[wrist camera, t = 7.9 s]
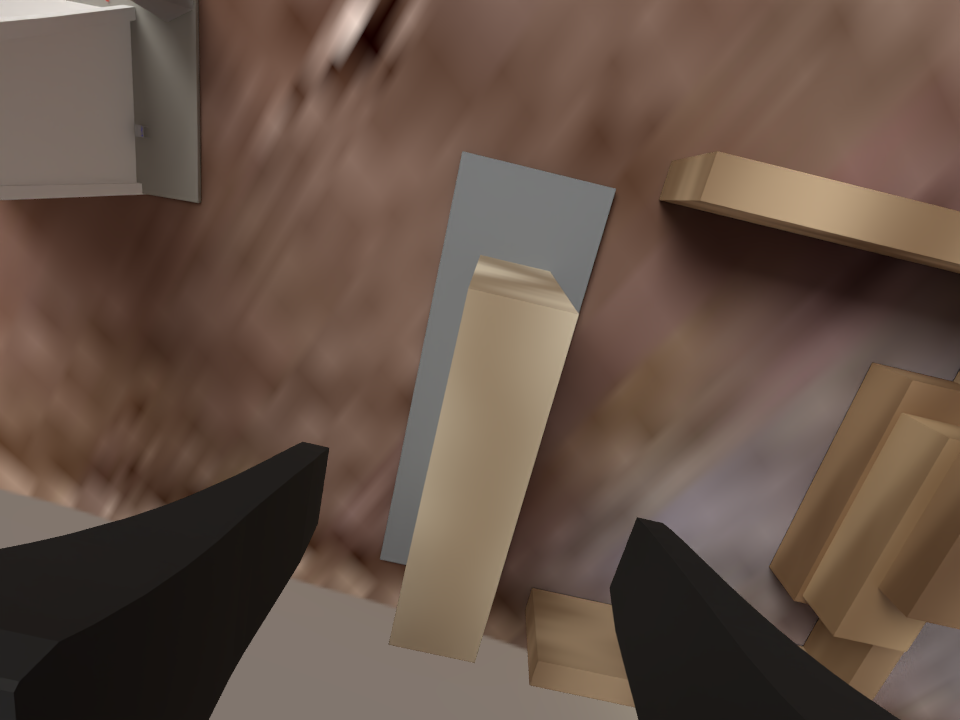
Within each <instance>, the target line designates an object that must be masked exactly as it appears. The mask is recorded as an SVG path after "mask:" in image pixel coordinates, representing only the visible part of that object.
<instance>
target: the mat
mask: <svg viewBox="0 0 960 720" xmlns="http://www.w3.org/2000/svg"><path fill="white" fill-rule="evenodd" d="M615 191H616V189H614V188H610V187H606V186H602V185H598V184H594V183H590V182H586V181H582V180H578V179H574V178H569V177H565V176H561V175H557V174H553V173H549V172H545V171H541V170H537V169H533V168H529V167H525V166H520V165H516V164H512V163H508V162H504V161H500V160H496V159H492V158H488V157H484V156H480V155H476V154H471V153H467V152H463V151H462V156H461V161H460V166H459V171H458V176H457V181H456V186H455V191H454V196H453V201H452V206H451V211H450V216H449V221H448V226H447V230H446V235H445V240H444V245H443V250H442V255H441V260H440V265H439V270H438V275H437V280H436V285H435V290H434V295H433V300H432V305H431V310H430V314H429V319H428V324H427V329H426V334H425V339H424V344H423V349H422V354H421V359H420V364H419V369H418V374H417V379H416V384H415V389H414V393H413V398H412V403H411V408H410V413H409V418H408V423H407V428H406V433H405V438H404V443H403V448H402V453H401V458H400V463H399V468H398V473H397V477H396V482H395V487H394V492H393V497H392V502H391V507H390V512H389V517H388V522H387V527H386V532H385V537H384V542H383V547H382V552H381V557H380V559H381V560H386V561H390V562H395V563H400V564H404V565H407V560H408V556H409V551H410V547H411V542H412V538H413V533H414V529H415V525H416V520H417V516H418V511H419V507H420V502H421V498H422V493H423V489H424V484H425V480H426V475H427V471H428V466H429V462H430V457H431V453H432V449H433V444H434V440H435V435H436V431H437V426H438V422H439V417H440V413H441V408H442V404H443V399H444V395H445V390H446V386H447V382H448V377H449V373H450V368H451V364H452V359H453V355H454V350H455V346H456V341H457V337H458V332H459V328H460V323H461V319H462V315H463V310H464V306H465V301H466V297H467V292H468V288H469V285H470V282H471V280H472V277H473V274H474V271H475V268H476V266H477V263H478V260H479V257H480V255H483V256H487V257H491V258H496V259H500V260H504V261H508V262H512V263H517V264H521V265H525V266H529V267H533V268H538V269H542V270H546V271H550V272H551V274H552V275H553V277H554V278H555V280H556V281H557V283H558V284H559V285H560V287H561V288H562V290H563V291H564V293H565V294H566V296H567V297H568V299H569V300H570V302H571V303H572V305H573V306H574V308H575V309H576V311H577V312H578V314H579V311H580V308H581V304H582V301H583V298H584V294H585V291H586V288H587V284H588V281H589V278H590V274H591V271H592V268H593V264H594V261H595V257H596V254H597V251H598V247H599V244H600V241H601V237H602V234H603V231H604V227H605V224H606V221H607V217H608V214H609V211H610V207H611V204H612V201H613V197H614V194H615Z"/></svg>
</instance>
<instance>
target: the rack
mask: <svg viewBox="0 0 960 720" xmlns="http://www.w3.org/2000/svg"><path fill="white" fill-rule="evenodd" d="M659 200H661V201H665V202H669V203H673V204H678V205H682V206H686V207H690V208H694V209H698V210H702V211H706V212H710V213H714V214H718V215H722V216H727V217H731V218H735V219H739V220H743V221H747V222H751V223H755V224H759V225H763V226H767V227H772V228H776V229H780V230H784V231H788V232H792V233H796V234H800V235H804V236H808V237H812V238H816V239H821V240H825V241H829V242H833V243H837V244H841V245H845V246H849V247H853V248H857V249H861V250H865V251H870V252H874V253H878V254H882V255H886V256H890V257H894V258H898V259H902V260H906V261H910V262H915V263H919V264H923V265H927V266H931V267H935V268H939V269H943V270H947V271H951V272H955V273H959V274H960V212H959V211H955V210H951V209H947V208H943V207H939V206H935V205H931V204H927V203H923V202H919V201H915V200H911V199H907V198H903V197H899V196H895V195H891V194H887V193H883V192H879V191H875V190H871V189H867V188H863V187H859V186H855V185H851V184H847V183H843V182H839V181H835V180H831V179H827V178H823V177H819V176H815V175H811V174H807V173H803V172H799V171H795V170H791V169H787V168H783V167H779V166H775V165H771V164H767V163H763V162H759V161H755V160H751V159H747V158H743V157H739V156H734V155H730V154H726V153H722V152H718V151H716V152H712V153H707V154H702V155H698V156H693V157H689V158H684V159H679V160H675V161H672V162H671V165H670V168H669V171H668V174H667V177H666V180H665V183H664V186H663V190H662V193H661V196H660V199H659ZM953 382H955V383H958V384H960V371H959V372H958V374H957V376H956V378H955V379H954V381H953ZM525 616H526V633H527V650H528V666H529V684H530V685H531V686H536V687H541V688H545V689H550V690H555V691H560V692H564V693H569V694H574V695H579V696H584V697H588V698H593V699H598V700H602V701H607V702H612V703H617V704H621V705H626V706H631V707H635V705H634V701H633V697H632V694H631V690H630V686H629V682H628V679H627V675H626V671H625V667H624V663H623V660H622V656H621V652H620V648H619V644H618V640H617V636H616V632H615V625H614V618H613V611H612V605H609V604H605V603H600V602H595V601H591V600H586V599H581V598H577V597H572V596H568V595H563V594H558V593H554V592H549V591H545V590H540V589H535V588H532V590H531V593H530V596H529V599H528V602H527V606H526V609H525ZM799 647H800V648H802V649H803V650H804V651H805V652H807V653H808V654H809V655H810V656H812V657H813V658H814V659H816V660H817V661H818V662H819V663H821V664H822V665H823V666H825V667H826V668H827V669H828V670H830V671H831V672H832V673H834V674H835V675H836V676H838V677H839V678H841V679H842V680H843V681H845V682H846V683H847V684H849V685H850V686H852V687H853V688H854V689H856V690H857V691H859V692H860V693H862V694H863V695H864V696H866V697H867V698H869V699H870V700H873V699H874V697H875V696H876V694H877V693H878V691H879V690H880V688H881V686H882V685H883V683H884V682H885V680H886V679H887V677H888V676H889V674H890V673H891V671H892V670H893V668H894V667H895V665H896V663H897V662H898V660H899V659H900V657H901V656H902V654H903V653H904V651H899V650H895V649H890V648H885V647H881V646H876V645H872V644H867V643H862V642H858V641H853V640H849V639H844V638H839V637H835V636H833V635H832V634H831V633H830V631H829V630H828V629H827V627H826V626H825V625H824V623H823V622H822V621H821V619H820V618H819V619H818V621H817V623H816V625H815V626H814V628H813V630H812V632H811V634H810V635H809V637H808V639H807V641H806V642H805V644H804V646H799Z"/></svg>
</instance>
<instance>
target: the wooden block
mask: <svg viewBox="0 0 960 720" xmlns="http://www.w3.org/2000/svg"><path fill="white" fill-rule="evenodd" d="M578 316H579V314H578V312H577V311H576V309H575V308H574V306H573V305H572V303H571V302H570V300H569V299H568V297H567V296H566V294H565V293H564V291H563V290H562V288H561V287H560V285H559V284H558V283H557V281H556V280H555V278H554V277H553V275H552V274H551V272H550V271H546V270H542V269H538V268H533V267H529V266H525V265H521V264H517V263H512V262H508V261H504V260H500V259H496V258H491V257H487V256H483V255H480V257H479V260H478V263H477V266H476V268H475V271H474V274H473V277H472V280H471V282H470V285H469V288H468V292H467V297H466V301H465V306H464V310H463V315H462V319H461V323H460V328H459V332H458V337H457V341H456V346H455V350H454V355H453V359H452V364H451V368H450V373H449V377H448V382H447V386H446V390H445V395H444V399H443V404H442V408H441V413H440V417H439V422H438V426H437V431H436V435H435V440H434V444H433V449H432V453H431V457H430V462H429V466H428V471H427V475H426V480H425V484H424V489H423V493H422V498H421V502H420V507H419V511H418V516H417V520H416V525H415V529H414V533H413V538H412V542H411V547H410V551H409V556H408V560H407V565H406V569H405V574H404V578H403V583H402V587H401V592H400V596H399V600H398V605H397V609H396V614H395V619H394V623H393V627H392V632H391V636H390V641H389V645H393V646H397V647H402V648H407V649H412V650H416V651H422V652H426V653H430V654H435V655H440V656H445V657H450V658H454V659H459V660H464V661H468V662H473V663H474V662H475V660H476V657H477V653H478V650H479V647H480V643H481V640H482V636H483V633H484V630H485V626H486V623H487V620H488V616H489V613H490V610H491V606H492V603H493V600H494V596H495V593H496V590H497V586H498V583H499V580H500V576H501V573H502V570H503V566H504V563H505V560H506V556H507V553H508V550H509V546H510V543H511V540H512V536H513V533H514V530H515V526H516V523H517V520H518V516H519V513H520V509H521V506H522V503H523V499H524V496H525V493H526V489H527V486H528V483H529V479H530V476H531V473H532V469H533V466H534V463H535V459H536V456H537V453H538V449H539V446H540V443H541V439H542V436H543V433H544V429H545V426H546V423H547V419H548V416H549V413H550V409H551V406H552V403H553V399H554V396H555V393H556V389H557V386H558V382H559V379H560V376H561V372H562V369H563V366H564V362H565V359H566V356H567V352H568V349H569V346H570V342H571V339H572V336H573V332H574V329H575V326H576V322H577V319H578Z"/></svg>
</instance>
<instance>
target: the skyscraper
mask: <svg viewBox="0 0 960 720" xmlns="http://www.w3.org/2000/svg"><path fill="white" fill-rule="evenodd" d="M143 194H149V195H155V196H161V197H166V198H172V199H178V200H184V201H190V202H196V203H201V162H200V85H199V7H198V0H0V200H19V199H44V198H69V197H94V196H118V195H143Z"/></svg>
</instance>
